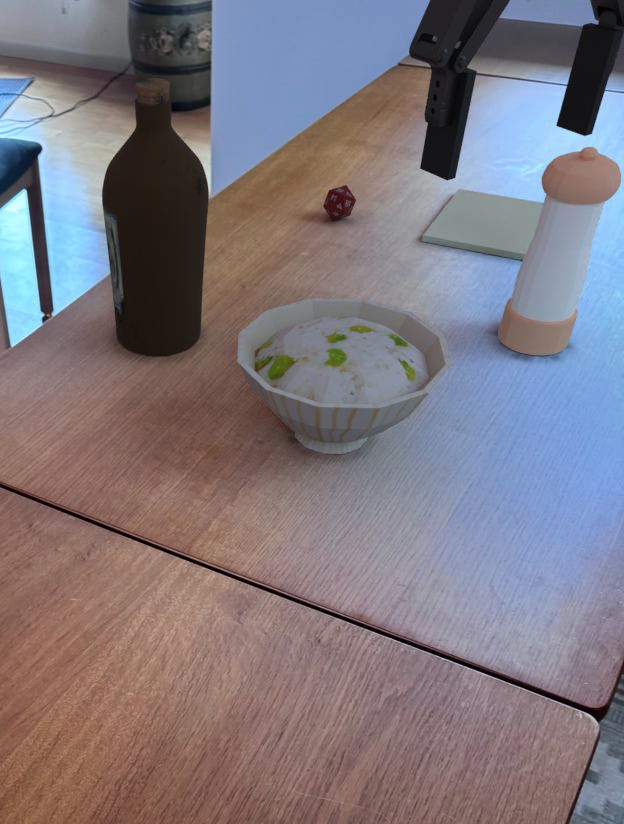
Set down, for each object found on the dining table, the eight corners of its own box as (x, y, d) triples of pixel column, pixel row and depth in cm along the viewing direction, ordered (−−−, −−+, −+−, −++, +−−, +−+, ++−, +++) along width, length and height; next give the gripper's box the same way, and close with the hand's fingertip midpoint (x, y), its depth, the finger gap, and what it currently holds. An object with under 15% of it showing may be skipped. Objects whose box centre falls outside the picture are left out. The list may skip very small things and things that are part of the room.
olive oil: (203, 310, 105) (207, 62, 86) (208, 358, 98) (213, 100, 79) (112, 313, 105) (96, 67, 87) (110, 361, 98) (92, 104, 79)
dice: (315, 219, 120) (318, 188, 117) (337, 209, 122) (341, 178, 119) (337, 228, 118) (341, 196, 115) (359, 217, 120) (364, 186, 117)
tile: (579, 215, 119) (581, 208, 118) (551, 265, 109) (553, 259, 109) (457, 194, 124) (459, 188, 124) (421, 241, 115) (422, 235, 114)
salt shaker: (487, 344, 98) (538, 154, 84) (510, 315, 102) (562, 129, 88) (556, 362, 95) (620, 168, 81) (576, 332, 99) (641, 142, 85)
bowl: (189, 429, 89) (190, 335, 82) (324, 358, 97) (335, 266, 90) (339, 524, 79) (354, 426, 71) (475, 435, 87) (502, 339, 79)
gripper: (695, -281, 56) (586, 100, 72) (386, -246, 48) (339, 175, 64) (810, -280, 52) (667, 127, 67) (491, -240, 44) (413, 211, 59)
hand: (507, 151), depth 66 cm, fingers open, 13 cm apart
